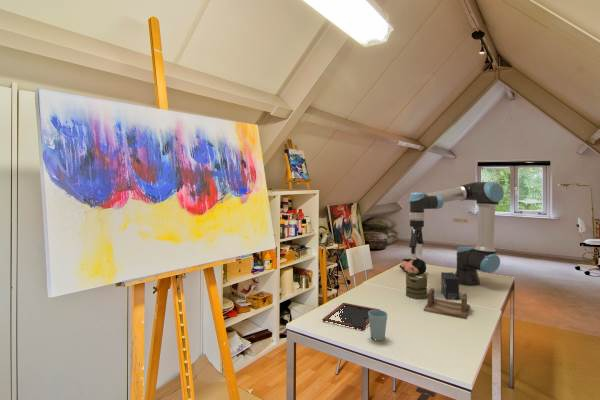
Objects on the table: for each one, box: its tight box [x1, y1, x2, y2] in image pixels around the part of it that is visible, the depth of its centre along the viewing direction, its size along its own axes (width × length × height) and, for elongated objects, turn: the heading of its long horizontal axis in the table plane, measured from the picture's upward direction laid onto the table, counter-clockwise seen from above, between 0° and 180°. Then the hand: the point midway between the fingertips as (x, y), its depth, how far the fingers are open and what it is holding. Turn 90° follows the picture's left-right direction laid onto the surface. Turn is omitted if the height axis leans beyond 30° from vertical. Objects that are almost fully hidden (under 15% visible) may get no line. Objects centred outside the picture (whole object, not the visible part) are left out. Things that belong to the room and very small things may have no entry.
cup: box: [368, 309, 388, 341], centre depth 135 cm, size 8×8×10 cm
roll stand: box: [423, 287, 471, 320], centre depth 166 cm, size 18×19×8 cm
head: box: [399, 257, 427, 276], centre depth 233 cm, size 12×13×20 cm
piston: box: [405, 272, 428, 301], centre depth 186 cm, size 11×12×11 cm
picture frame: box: [321, 302, 381, 331], centre depth 158 cm, size 20×2×25 cm
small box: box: [440, 272, 460, 301], centre depth 185 cm, size 13×7×12 cm, turn 168°
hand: (416, 257), depth 185 cm, fingers open, 13 cm apart
